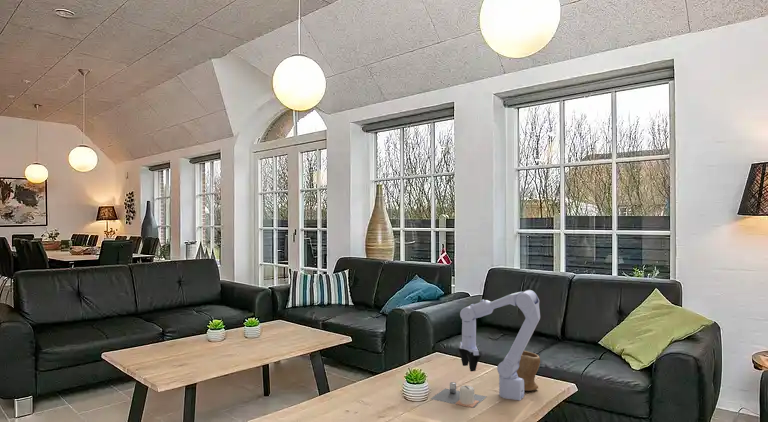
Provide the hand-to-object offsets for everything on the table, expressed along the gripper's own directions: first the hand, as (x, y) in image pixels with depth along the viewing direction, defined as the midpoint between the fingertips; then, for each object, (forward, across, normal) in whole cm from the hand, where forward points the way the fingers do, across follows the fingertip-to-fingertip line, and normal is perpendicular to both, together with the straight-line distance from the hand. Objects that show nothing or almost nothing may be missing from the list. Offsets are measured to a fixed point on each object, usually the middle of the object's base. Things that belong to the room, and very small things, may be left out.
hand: (468, 368), depth 212 cm
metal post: (+8, +4, -9) cm, 13 cm away
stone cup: (+10, +1, +25) cm, 26 cm away
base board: (+9, +9, -8) cm, 16 cm away
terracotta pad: (+8, +15, -7) cm, 19 cm away
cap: (+8, +15, -8) cm, 19 cm away
